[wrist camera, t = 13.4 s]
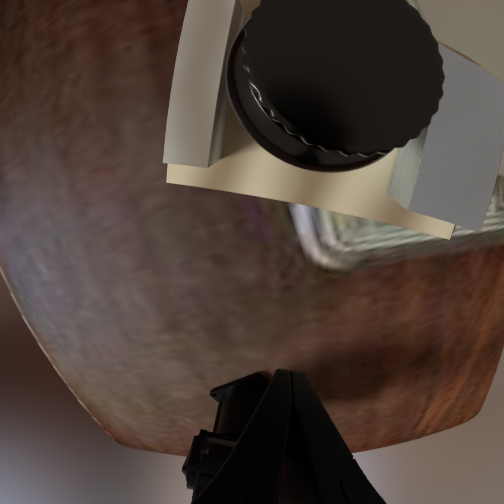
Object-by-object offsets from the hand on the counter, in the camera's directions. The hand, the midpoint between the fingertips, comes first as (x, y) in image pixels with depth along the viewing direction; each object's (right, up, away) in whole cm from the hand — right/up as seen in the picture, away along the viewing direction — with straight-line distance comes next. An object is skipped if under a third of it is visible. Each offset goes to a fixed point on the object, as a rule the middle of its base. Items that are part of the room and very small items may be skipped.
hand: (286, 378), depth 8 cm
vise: (+5, +13, +8) cm, 16 cm away
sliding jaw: (+11, +12, +7) cm, 18 cm away
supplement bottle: (+2, +13, +8) cm, 15 cm away
